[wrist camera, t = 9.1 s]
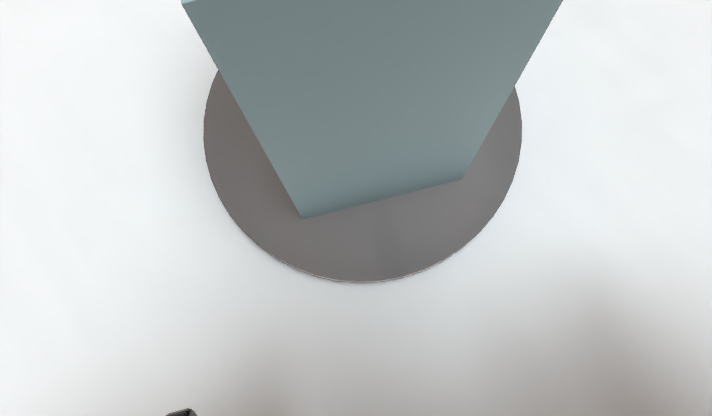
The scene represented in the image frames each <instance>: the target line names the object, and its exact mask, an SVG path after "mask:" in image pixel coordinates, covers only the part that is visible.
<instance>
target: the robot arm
mask: <svg viewBox="0 0 712 416" xmlns="http://www.w3.org/2000/svg"><path fill="white" fill-rule="evenodd" d="M166 416H197V415H196V413H195V412H194V411H193V410H192V409H188V408H187V409H184V410H180V411H176V412H172V413H169V414H167V415H166Z"/></svg>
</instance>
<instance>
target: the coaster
mask: <svg viewBox="0 0 712 416" xmlns="http://www.w3.org/2000/svg"><path fill="white" fill-rule="evenodd" d="M521 142H522V120H521V113H520V105H519V100H518V96H517V93H516V89H515V86H514V88H513V90H512V91H511V93H510V95H509V97H508V98H507V100H506V102H505V104H504V105H503V107H502V109H501V111H500V113H499V114H498V116H497V118H496V120H495V121H494V123H493V125H492V127H491V128H490V130H489V132H488V134H487V136H486V137H485V139H484V141H483V143H482V144H481V146H480V148H479V150H478V152H477V153H476V155H475V157H474V159H473V160H472V162H471V164H470V166H469V167H468V169H467V171H466V173H465V175H464V176H463V178H462V179H460V180H456V181H452V182H449V183H445V184H441V185H437V186H433V187H429V188H425V189H421V190H417V191H413V192H409V193H405V194H401V195H397V196H393V197H390V198H386V199H382V200H378V201H374V202H370V203H366V204H362V205H358V206H354V207H350V208H346V209H342V210H338V211H335V212H331V213H327V214H323V215H319V216H315V217H311V218H307V219H302V217H301V216H300V214H299V212H298V210H297V209H296V207H295V205H294V203H293V201H292V200H291V198H290V196H289V194H288V193H287V191H286V189H285V187H284V185H283V184H282V182H281V180H280V178H279V177H278V175H277V173H276V171H275V169H274V168H273V166H272V164H271V162H270V160H269V159H268V157H267V155H266V153H265V152H264V150H263V148H262V146H261V144H260V143H259V141H258V139H257V137H256V136H255V134H254V132H253V130H252V128H251V127H250V125H249V123H248V121H247V120H246V118H245V116H244V114H243V112H242V111H241V109H240V107H239V105H238V104H237V102H236V100H235V98H234V96H233V95H232V93H231V91H230V89H229V88H228V86H227V84H226V82H225V80H224V79H223V77H222V75H221V73H220V71H219V70H218V72H217V74H216V76H215V78H214V81H213V83H212V86H211V89H210V93H209V96H208V100H207V104H206V110H205V117H204V148H205V155H206V162H207V165H208V169H209V173H210V176H211V180H212V182H213V184H214V187H215V189H216V191H217V193H218V196H219V198H220V200H221V201H222V203H223V205H224V206H225V208H226V209H227V211H228V213H229V214H230V216H231V217H232V218H233V219H234V221H235V222H236V223H237V224H238V226H239V227H240V228H241V229H242V230H243V231H244V232H245V233H246V234H247V235H248V236H249V237H250V238H251V239H252V240H253V241H254V242H255V243H257V244H258V245H259V246H260V247H261V248H262V249H264V250H265V251H267V252H268V253H269V254H271V255H272V256H274V257H275V258H277V259H278V260H280V261H281V262H283V263H285V264H287V265H289V266H291V267H293V268H295V269H297V270H300V271H302V272H305V273H308V274H311V275H314V276H316V277H320V278H325V279H330V280H335V281H340V282H353V283H369V282H383V281H389V280H394V279H399V278H404V277H407V276H410V275H413V274H416V273H419V272H422V271H424V270H426V269H428V268H430V267H433V266H435V265H437V264H439V263H441V262H443V261H444V260H446V259H447V258H449V257H450V256H452V255H453V254H455V253H456V252H458V251H459V250H460V249H462V248H463V247H464V246H465V245H466V244H467V243H468V242H470V241H471V240H472V239H473V238H474V237H475V236H476V235H477V234H478V233H479V232H480V231H481V230H482V229H483V228H484V226H485V225H486V224H487V223H488V222H489V221H490V219H491V218H492V217H493V216H494V214H495V213H496V211H497V209H498V208H499V206H500V205H501V203H502V202H503V200H504V198H505V196H506V194H507V192H508V190H509V188H510V185H511V183H512V181H513V178H514V175H515V171H516V168H517V165H518V161H519V155H520V148H521Z"/></svg>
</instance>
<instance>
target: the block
mask: <svg viewBox="0 0 712 416" xmlns="http://www.w3.org/2000/svg"><path fill="white" fill-rule="evenodd" d="M562 1H563V0H181V4H182V6H183V7H184V9H185V11H186V13H187V15H188V16H189V18H190V20H191V22H192V23H193V25H194V27H195V29H196V31H197V32H198V34H199V36H200V38H201V39H202V41H203V43H204V45H205V47H206V48H207V50H208V52H209V54H210V55H211V57H212V59H213V61H214V63H215V64H216V66H217V68H218V70H219V71H220V73H221V75H222V77H223V79H224V80H225V82H226V84H227V86H228V88H229V89H230V91H231V93H232V95H233V96H234V98H235V100H236V102H237V104H238V105H239V107H240V109H241V111H242V112H243V114H244V116H245V118H246V120H247V121H248V123H249V125H250V127H251V128H252V130H253V132H254V134H255V136H256V137H257V139H258V141H259V143H260V144H261V146H262V148H263V150H264V152H265V153H266V155H267V157H268V159H269V160H270V162H271V164H272V166H273V168H274V169H275V171H276V173H277V175H278V177H279V178H280V180H281V182H282V184H283V185H284V187H285V189H286V191H287V193H288V194H289V196H290V198H291V200H292V201H293V203H294V205H295V207H296V209H297V210H298V212H299V214H300V216H301V217H302V219H307V218H311V217H315V216H319V215H323V214H327V213H331V212H335V211H338V210H342V209H346V208H350V207H354V206H358V205H362V204H366V203H370V202H374V201H378V200H382V199H386V198H390V197H393V196H397V195H401V194H405V193H409V192H413V191H417V190H421V189H425V188H429V187H433V186H437V185H441V184H445V183H449V182H452V181H456V180H460V179H462V178H463V176H464V175H465V173H466V171H467V169H468V167H469V166H470V164H471V162H472V160H473V159H474V157H475V155H476V153H477V152H478V150H479V148H480V146H481V144H482V143H483V141H484V139H485V137H486V136H487V134H488V132H489V130H490V128H491V127H492V125H493V123H494V121H495V120H496V118H497V116H498V114H499V113H500V111H501V109H502V107H503V105H504V104H505V102H506V100H507V98H508V97H509V95H510V93H511V91H512V90H513V88H514V86H515V84H516V82H517V81H518V79H519V77H520V75H521V74H522V72H523V70H524V68H525V66H526V65H527V63H528V61H529V59H530V58H531V56H532V54H533V52H534V51H535V49H536V47H537V45H538V43H539V42H540V40H541V38H542V36H543V35H544V33H545V31H546V29H547V28H548V26H549V24H550V22H551V20H552V19H553V17H554V15H555V13H556V12H557V10H558V8H559V6H560V4H561V3H562Z"/></svg>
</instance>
